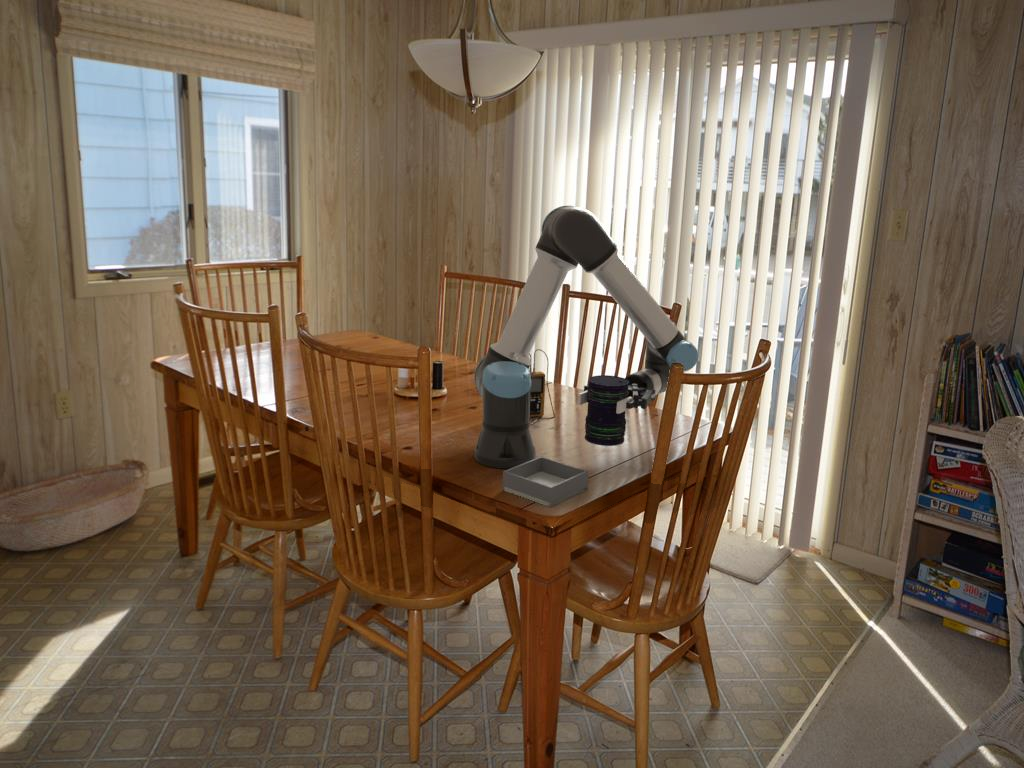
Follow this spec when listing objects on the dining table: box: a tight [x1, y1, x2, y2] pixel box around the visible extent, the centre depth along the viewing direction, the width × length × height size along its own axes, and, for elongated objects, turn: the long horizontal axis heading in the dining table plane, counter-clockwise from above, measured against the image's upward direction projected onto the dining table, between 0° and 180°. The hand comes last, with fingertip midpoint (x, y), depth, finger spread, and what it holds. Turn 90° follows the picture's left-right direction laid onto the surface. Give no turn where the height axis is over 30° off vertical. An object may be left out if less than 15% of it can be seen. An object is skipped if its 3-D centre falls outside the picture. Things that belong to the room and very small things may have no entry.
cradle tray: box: [502, 456, 589, 508], centre depth 175 cm, size 14×14×4 cm
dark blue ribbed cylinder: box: [584, 374, 629, 447], centre depth 189 cm, size 10×10×15 cm
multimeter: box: [529, 348, 556, 425], centre depth 224 cm, size 15×10×20 cm
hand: (598, 403), depth 185 cm, fingers closed on dark blue ribbed cylinder, 10 cm apart
